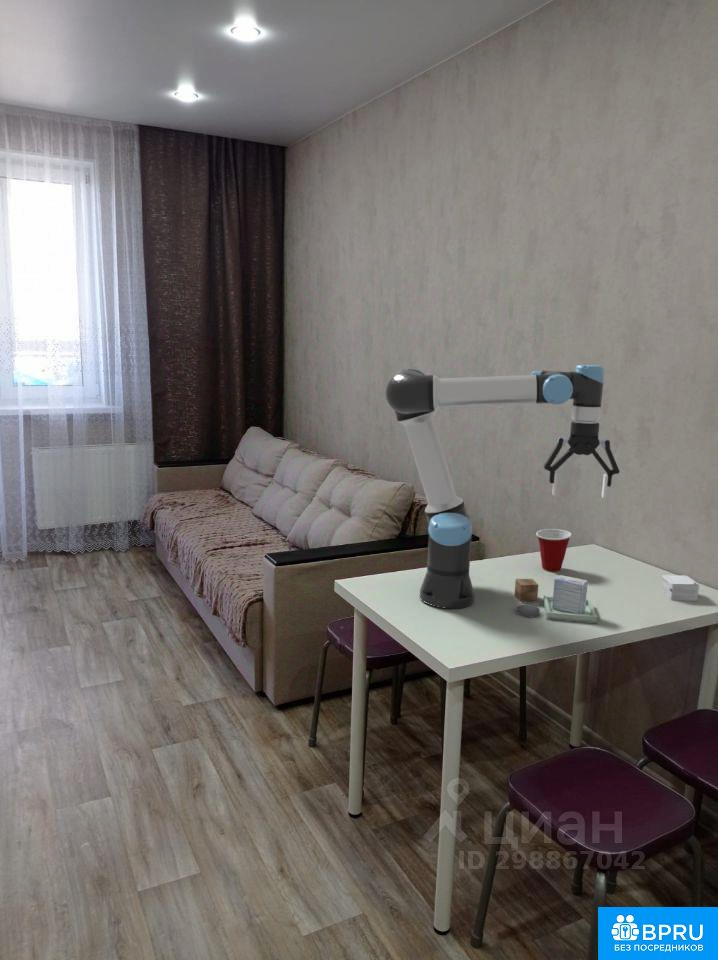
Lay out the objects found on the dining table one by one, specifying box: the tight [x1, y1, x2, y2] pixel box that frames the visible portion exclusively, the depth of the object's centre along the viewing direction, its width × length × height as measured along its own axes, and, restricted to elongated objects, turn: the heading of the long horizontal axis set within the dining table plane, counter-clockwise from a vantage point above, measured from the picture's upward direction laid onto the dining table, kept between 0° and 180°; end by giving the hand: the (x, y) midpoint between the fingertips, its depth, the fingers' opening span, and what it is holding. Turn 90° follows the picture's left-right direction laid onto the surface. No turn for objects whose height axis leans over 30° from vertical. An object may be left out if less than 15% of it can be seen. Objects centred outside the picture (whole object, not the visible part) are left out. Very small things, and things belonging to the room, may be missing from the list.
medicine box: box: [552, 574, 589, 614], centre depth 195 cm, size 8×4×9 cm, turn 57°
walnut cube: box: [514, 578, 539, 603], centre depth 205 cm, size 5×5×5 cm
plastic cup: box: [535, 528, 572, 573], centre depth 231 cm, size 11×11×12 cm
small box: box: [660, 574, 700, 602], centre depth 211 cm, size 8×8×5 cm
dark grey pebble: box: [516, 604, 541, 618], centre depth 195 cm, size 6×6×2 cm
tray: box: [542, 595, 598, 624], centre depth 196 cm, size 13×13×2 cm
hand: (578, 496), depth 205 cm, fingers open, 13 cm apart
